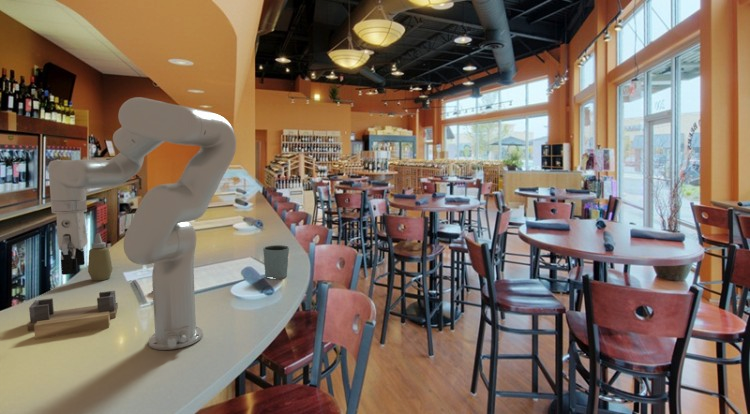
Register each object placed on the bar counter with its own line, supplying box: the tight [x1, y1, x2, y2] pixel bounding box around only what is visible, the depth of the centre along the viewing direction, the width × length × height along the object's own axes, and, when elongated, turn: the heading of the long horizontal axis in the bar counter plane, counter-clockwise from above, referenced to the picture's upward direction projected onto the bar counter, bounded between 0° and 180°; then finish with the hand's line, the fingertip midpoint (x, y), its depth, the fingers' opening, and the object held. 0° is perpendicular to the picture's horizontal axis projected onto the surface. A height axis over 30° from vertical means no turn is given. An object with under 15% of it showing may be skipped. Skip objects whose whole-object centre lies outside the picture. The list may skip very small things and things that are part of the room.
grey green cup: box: [262, 244, 290, 280], centre depth 162 cm, size 10×10×12 cm
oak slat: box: [33, 311, 111, 340], centre depth 109 cm, size 3×16×4 cm, turn 118°
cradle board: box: [27, 290, 119, 332], centre depth 117 cm, size 10×20×6 cm, turn 119°
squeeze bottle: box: [87, 233, 114, 282], centre depth 157 cm, size 8×8×18 cm
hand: (73, 269), depth 108 cm, fingers open, 9 cm apart
